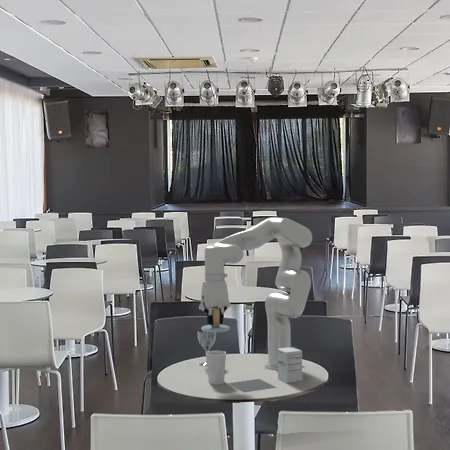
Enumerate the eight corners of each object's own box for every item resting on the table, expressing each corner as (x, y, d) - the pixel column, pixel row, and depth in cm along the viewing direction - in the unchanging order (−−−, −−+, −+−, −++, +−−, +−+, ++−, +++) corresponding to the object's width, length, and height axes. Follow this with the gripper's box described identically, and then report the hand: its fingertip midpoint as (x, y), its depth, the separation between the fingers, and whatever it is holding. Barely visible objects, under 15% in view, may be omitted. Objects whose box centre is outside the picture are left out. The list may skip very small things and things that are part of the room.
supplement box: (277, 379, 310) (277, 348, 309) (293, 377, 313) (293, 346, 312) (286, 384, 303) (285, 352, 302) (302, 381, 306) (302, 350, 305)
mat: (259, 379, 310) (259, 378, 310) (276, 388, 297) (276, 387, 297) (227, 384, 304) (227, 383, 304) (243, 393, 291) (243, 392, 291)
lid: (222, 326, 312) (221, 306, 312) (234, 330, 302) (234, 310, 302) (196, 328, 307) (196, 308, 307) (208, 333, 298) (208, 312, 297)
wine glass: (205, 361, 342) (205, 327, 341) (220, 363, 337) (219, 329, 336) (194, 364, 336) (193, 330, 335) (209, 367, 331) (208, 332, 330)
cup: (224, 386, 302) (223, 355, 301) (204, 385, 303) (203, 354, 303) (228, 380, 310) (227, 350, 309) (208, 379, 311) (208, 350, 310)
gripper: (229, 275, 310) (230, 320, 312) (191, 278, 303) (192, 324, 305) (237, 277, 304) (238, 323, 305) (199, 280, 297) (199, 327, 298)
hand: (215, 323), depth 305 cm, fingers closed on lid, 3 cm apart
